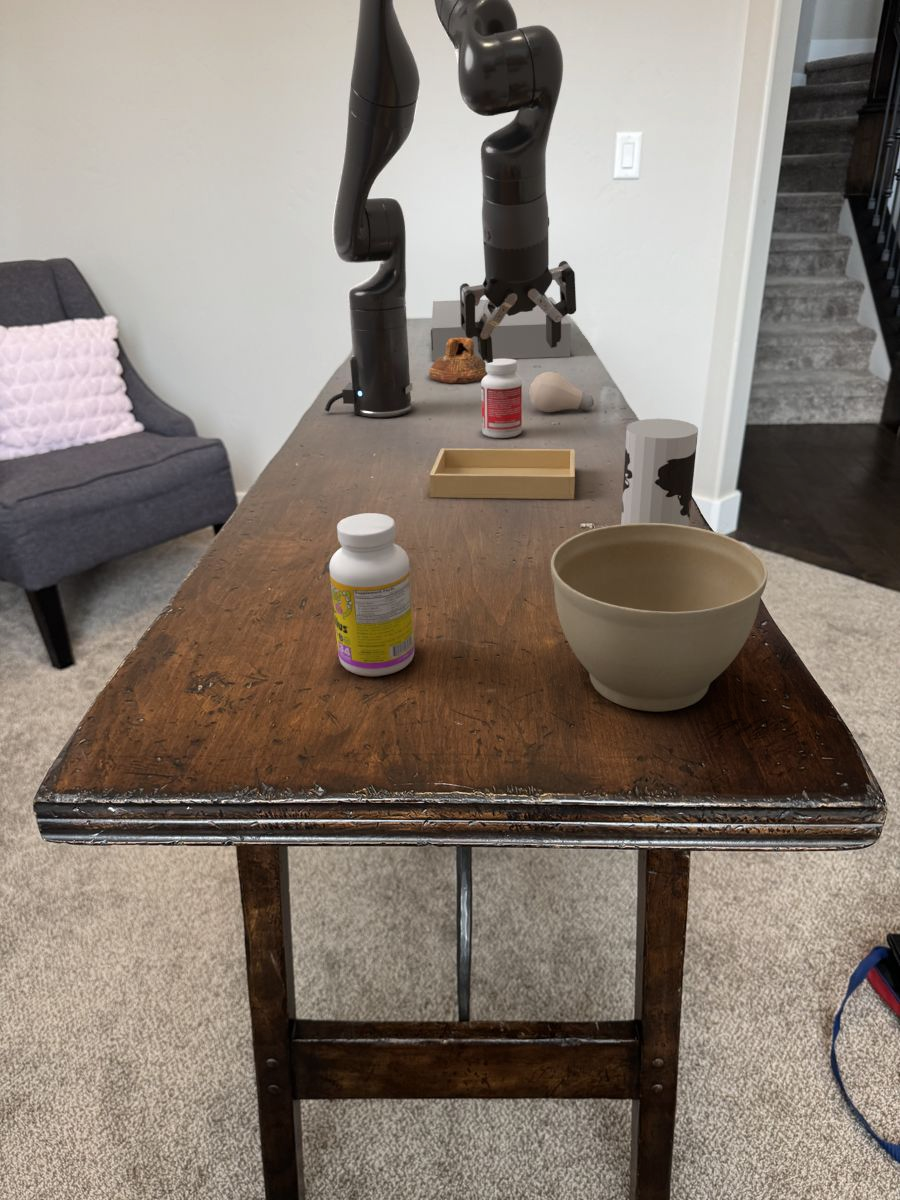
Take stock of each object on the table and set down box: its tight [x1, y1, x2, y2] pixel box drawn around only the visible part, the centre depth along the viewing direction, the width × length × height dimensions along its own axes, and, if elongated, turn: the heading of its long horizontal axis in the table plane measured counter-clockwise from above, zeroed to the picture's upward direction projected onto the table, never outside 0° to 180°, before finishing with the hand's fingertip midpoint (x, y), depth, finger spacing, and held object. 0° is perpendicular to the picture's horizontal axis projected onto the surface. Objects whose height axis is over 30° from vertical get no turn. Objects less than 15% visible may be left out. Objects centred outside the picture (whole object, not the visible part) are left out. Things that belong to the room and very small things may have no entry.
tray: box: [429, 447, 576, 500], centre depth 117 cm, size 18×11×3 cm, turn 83°
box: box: [430, 296, 572, 362], centre depth 200 cm, size 35×29×7 cm
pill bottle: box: [480, 358, 523, 439], centre depth 135 cm, size 6×6×11 cm
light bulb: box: [528, 371, 595, 413], centre depth 147 cm, size 7×7×11 cm
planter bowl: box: [550, 523, 769, 713], centre depth 71 cm, size 16×16×11 cm
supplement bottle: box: [328, 512, 415, 677], centre depth 75 cm, size 7×7×13 cm
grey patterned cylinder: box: [620, 418, 699, 527], centre depth 89 cm, size 7×7×15 cm
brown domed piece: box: [428, 338, 487, 384], centre depth 171 cm, size 12×12×7 cm
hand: (519, 352), depth 114 cm, fingers open, 8 cm apart
